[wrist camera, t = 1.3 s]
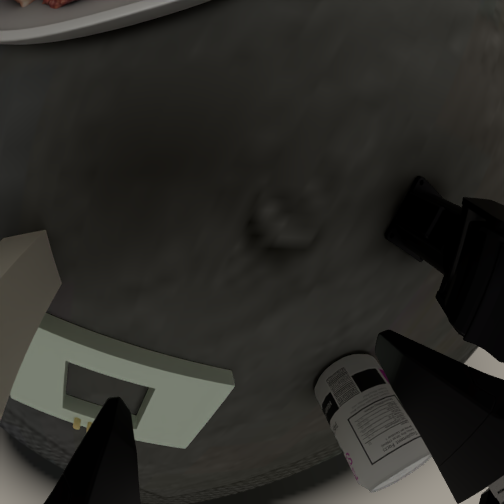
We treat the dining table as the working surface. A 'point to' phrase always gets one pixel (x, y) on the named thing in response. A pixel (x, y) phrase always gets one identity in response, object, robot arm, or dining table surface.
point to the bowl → (77, 17)
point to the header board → (125, 368)
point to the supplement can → (369, 422)
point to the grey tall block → (23, 299)
